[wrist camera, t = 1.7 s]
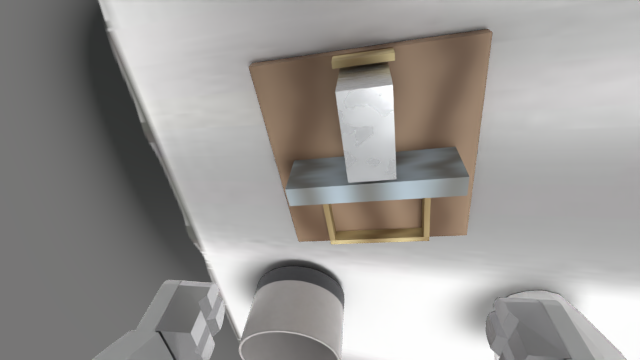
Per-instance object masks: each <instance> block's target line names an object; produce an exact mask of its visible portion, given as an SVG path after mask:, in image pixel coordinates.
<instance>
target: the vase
mask: <svg viewBox="0 0 640 360" xmlns="http://www.w3.org/2000/svg"><path fill="white" fill-rule="evenodd" d="M506 298H531V299H540V300H557V301H558V302H559V303H561V304H562V306H563V307H564V309H565V311H566V312H567V314H568V316H569V317H570V319H571V321H572V322H573V324H574V326H575V327H576V329H577V330H578V332H579V334H580V335H581V337H582V339H583V340H584V342H585V344H586V345H587V347H588V349H589V350H590V352H591V354H592V355H593V357H594V358H595V360H626V358H625V357H624V356H623V354H622V353H621V352H620V351H619V350H618V349H617V348H616V347H615V346H614V345H613V344H612V343H611V342H610V341H609V340H608V339H607V338H606V337H605V336H604V335H603V334H602V333H601V332H600V331H599V330H598V329H597V328H596V327H595V326H594V325H593V324H592V323H591V322H590V321H589V320H588V319H586V318H585V317H584V316H583V315H582V314H581V313H580V312H579V311H578V310H577V309H576V308H574V307H573V306H572V305H571V304H570V303H568V302H567V301H566V300H565V299H564V298H563V297H562V296H561V295H559V294H555V293H551V292H548V291H544V290H538V291H524V292H520V293H516V294H513V295H509V296H508V297H506ZM494 357H495V360H498V358H499V356H498V355H497V354H496V353H495V352H494Z"/></svg>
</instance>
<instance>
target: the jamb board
mask: <svg viewBox="0 0 640 360" xmlns="http://www.w3.org/2000/svg"><path fill="white" fill-rule="evenodd" d="M491 40H492V31H490V30H489V29H484V30H477V31H470V32H463V33H456V34H449V35H442V36H436V37H429V38H422V39H415V40H408V41H401V42H394V43H388V44H381V45H374V46H367V47H360V48H353V49H346V50H340V51H333V52H326V53H319V54H312V55H305V56H298V57H291V58H285V59H278V60H271V61H264V62H257V63H252V64H251V65H250V66H249V70H250V73H251V77H252V80H253V84H254V87H255V91H256V94H257V98H258V101H259V105H260V108H261V112H262V115H263V119H264V122H265V126H266V129H267V133H268V136H269V140H270V143H271V147H272V150H273V154H274V157H275V160H276V164H277V167H278V171H279V174H280V178H281V181H282V185H283V188H284V192H285V195H286V199H287V202H288V206H289V209H290V213H291V216H292V220H293V223H294V227H295V230H296V234H297V237H298V241H299V242H303V241H328V240H330V241H331V244H352V243H379V242H406V241H429V237H431V236H457V235H467V227H468V220H469V212H470V204H471V196H472V188H473V181H474V173H475V165H476V157H477V149H478V142H479V134H480V126H481V118H482V110H483V102H484V95H485V87H486V79H487V71H488V63H489V56H490V48H491ZM380 62H388V64H389V69H390V74H391V78H392V83H393V100H394V126H395V152H396V179H394V180H380V181H366V182H352V183H348V178H347V171H346V164H345V157H344V150H343V143H342V136H341V129H340V122H339V115H338V108H337V101H336V94H335V90H336V85H337V80H338V74H339V69H340V68H343V67H351V66H358V65H365V64H373V63H380Z"/></svg>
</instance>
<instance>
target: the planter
mask: <svg viewBox="0 0 640 360" xmlns="http://www.w3.org/2000/svg"><path fill="white" fill-rule="evenodd" d="M343 315H344V293H343V291H342V289H341V287H340V286H339V284H338V283H337V282H336V281H335V280H333V279H332V278H331V277H329V276H328V275H326V274H324V273H322V272H320V271H317V270H314V269H310V268H306V267H297V266H289V267H281V268H277V269H274V270H272V271H270V272H268V273H266V274H265V275H264V276H263V277H262V278H261V279H260V281H259V283H258V286H257V289H256V292H255V296H254V299H253V302H252V305H251V309H250V312H249V315H248V318H247V322H246V325H245V328H244V331H243V335H242V338H241V341H240V345H239V354H240V356H241V358H242V359H243V360H341V354H342V335H343Z"/></svg>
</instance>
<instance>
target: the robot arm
mask: <svg viewBox="0 0 640 360" xmlns="http://www.w3.org/2000/svg"><path fill="white" fill-rule="evenodd" d="M219 291H220V290H219V287H218V284H217V283H207V282H193V281H180V280H179V281H178V280H167V281H165V282H164V283H163V284H162V286H161V287H160V289H159V291H158V292H157V294H156V296H155V298H154V299H153V301H152V303H151V304H150V306H149V308H148V310H147V311H146V313H145V315H144V316H143V318H142V320H141V322H140V323H139V325H138V327H137V328H136V330H130V331H129V332H127V333H126V334H125V335H123V336H122V337H121V338H120V339H118V340H117V341H116V342H114V343H113V344H112V345H110V346H109V347H108V348H106V349H105V350H104V351H103V352H101V353H100V354H98V355H97V356H96V357H95V358H93V359H92V360H210V357H211V354H212V351H213V348H214V346H215V344H214V341H213V338H212V337H213V336H214V335H215V334H216V333H218V332H219V331H220V329H221V326H222V323H223V318H224V312H225V310H224V302H223V299H222V298H221V297H219V296H218V293H219ZM493 306H494V309H495V311H493V312H492V313H490V314H489V315H488V317H487V320H486V335H487V339H488V342H489V345H490V348H491V349H492V350H493V351H494V352H495V353H496V354H497V355H498V356H499V358H498V360H595V358H594V357H593V355H592V354H591V352H590V350H589V349H588V347H587V345H586V344H585V342H584V340H583V339H582V337H581V335H580V334H579V332H578V330H577V329H576V327H575V326H574V324H573V322H572V321H571V319H570V317H569V316H568V314H567V312H566V311H565V309H564V307H563V306H562V304H561V303H559V302H558V301H557V300H540V299H531V298H504V297H499V298H497V299H496V300H495V302H494V304H493Z"/></svg>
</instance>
